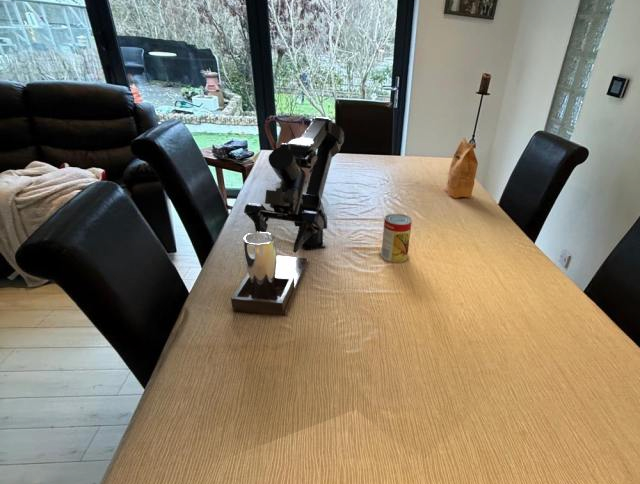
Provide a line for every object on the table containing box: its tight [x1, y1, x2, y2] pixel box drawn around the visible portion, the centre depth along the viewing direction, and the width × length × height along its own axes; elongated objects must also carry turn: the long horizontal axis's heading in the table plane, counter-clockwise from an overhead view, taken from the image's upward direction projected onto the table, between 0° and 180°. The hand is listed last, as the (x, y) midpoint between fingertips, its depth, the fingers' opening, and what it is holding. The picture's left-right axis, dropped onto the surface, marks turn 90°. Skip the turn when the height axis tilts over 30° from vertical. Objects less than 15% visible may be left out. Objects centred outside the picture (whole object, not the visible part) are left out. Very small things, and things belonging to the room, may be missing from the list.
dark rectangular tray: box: [230, 255, 308, 316], centre depth 104 cm, size 27×12×4 cm, turn 178°
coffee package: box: [445, 137, 479, 199], centre depth 173 cm, size 10×12×22 cm
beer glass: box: [242, 231, 278, 300], centre depth 94 cm, size 7×7×15 cm
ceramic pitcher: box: [264, 114, 313, 183], centre depth 169 cm, size 18×21×25 cm
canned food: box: [380, 213, 413, 263], centre depth 121 cm, size 8×8×12 cm
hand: (276, 249), depth 100 cm, fingers open, 9 cm apart
